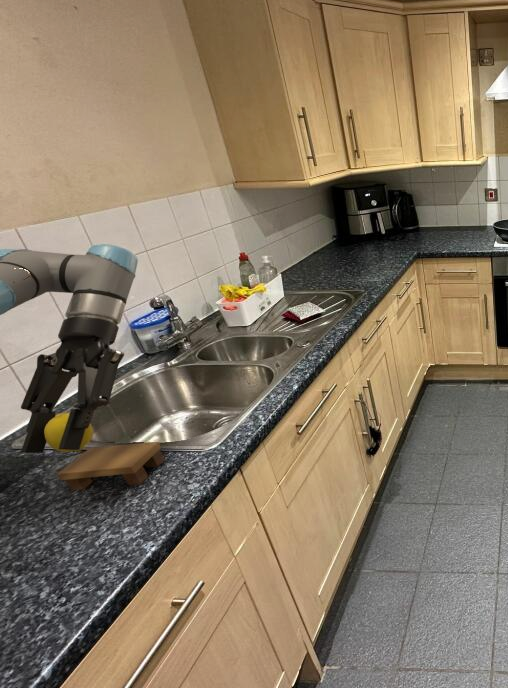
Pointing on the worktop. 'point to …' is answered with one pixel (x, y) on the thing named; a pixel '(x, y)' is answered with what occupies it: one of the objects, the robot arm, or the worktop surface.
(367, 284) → the worktop surface
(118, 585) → the worktop surface
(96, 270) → the robot arm
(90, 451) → the serving board
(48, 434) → the lemon
